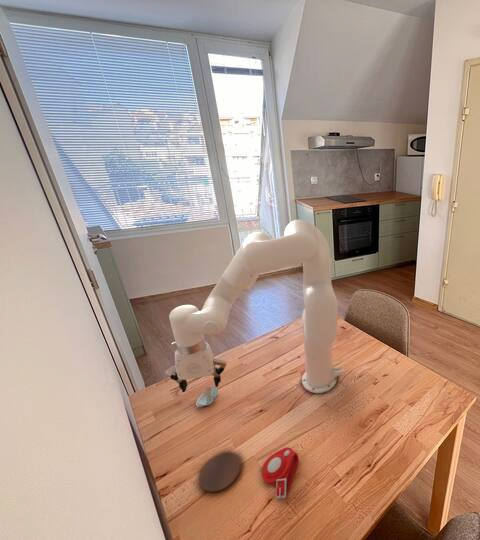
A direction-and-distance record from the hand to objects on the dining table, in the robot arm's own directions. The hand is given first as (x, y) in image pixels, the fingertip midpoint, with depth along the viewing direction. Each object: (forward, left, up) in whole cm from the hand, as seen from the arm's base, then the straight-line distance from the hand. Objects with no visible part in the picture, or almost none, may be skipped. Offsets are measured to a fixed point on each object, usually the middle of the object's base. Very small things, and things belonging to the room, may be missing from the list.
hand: (201, 386), depth 96 cm
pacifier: (-1, 0, -7) cm, 7 cm away
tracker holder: (-24, +31, -7) cm, 39 cm away
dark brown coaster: (-9, +26, -7) cm, 28 cm away
